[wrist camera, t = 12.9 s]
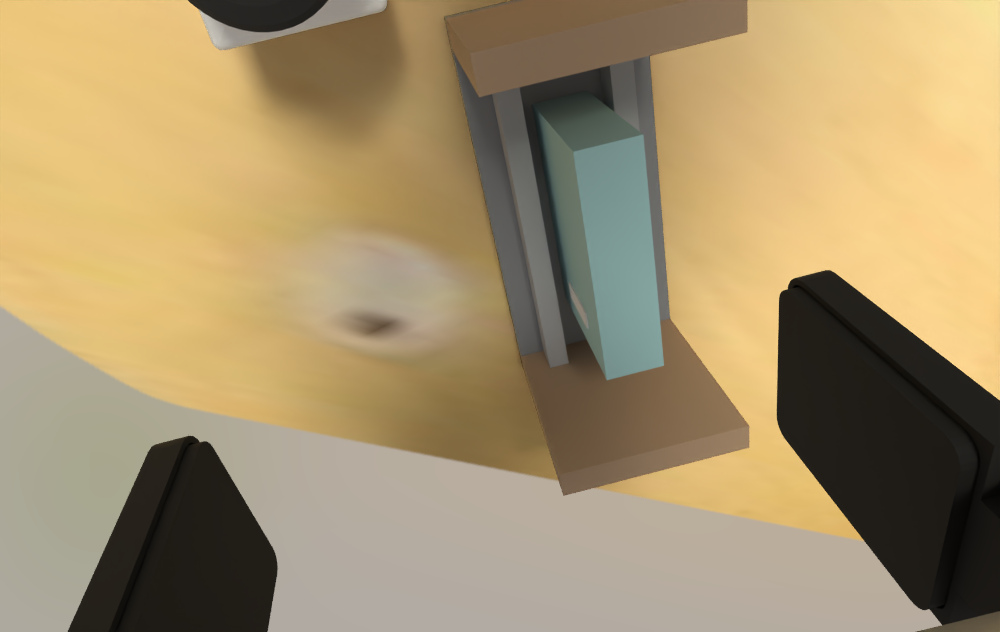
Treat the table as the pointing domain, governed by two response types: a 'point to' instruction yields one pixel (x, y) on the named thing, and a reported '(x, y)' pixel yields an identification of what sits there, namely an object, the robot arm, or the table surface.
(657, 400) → the door frame
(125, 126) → the table surface
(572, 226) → the door panel
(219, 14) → the medicine bottle
